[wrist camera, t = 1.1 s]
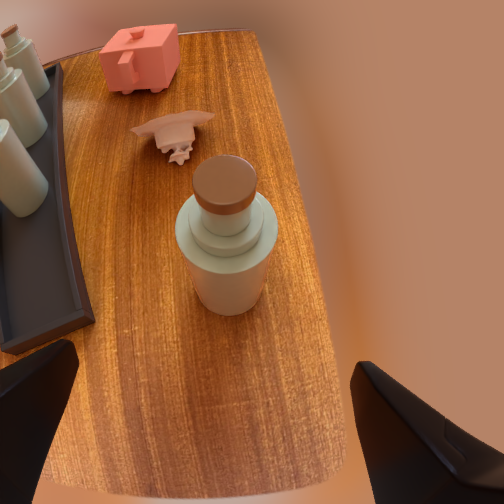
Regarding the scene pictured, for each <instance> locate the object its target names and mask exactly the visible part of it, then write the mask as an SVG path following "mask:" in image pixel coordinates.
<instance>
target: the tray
mask: <svg viewBox="0 0 504 504" xmlns="http://www.w3.org/2000/svg"><path fill="white" fill-rule="evenodd" d="M44 71H45V74H46V76H47V78H48V81H49V83H50V88H49V89H48V91H47V92H46V93H45V94H44V95H43V96H42V97H40V98H39V99H37V100H36V101H37V103H38V105H39V107H40V109H41V111H42V113H43V115H44V117H45V119H46V121H47V123H48V126H47V129H46V131H45V133H44V134H43V136H42V137H41V138H40V139H39V140H38V141H37V142H36V143H34V144H33V145H31V146H30V147H27V148H25V149H26V150H27V152H28V153H29V155H30V156H31V158H32V159H33V161H34V162H35V163H36V165H37V166H38V168H39V169H40V171H41V172H42V174H43V175H44V176H45V178H46V179H47V181H48V193H47V196H46V198H45V200H44V201H43V203H42V204H41V206H40V207H39V208H38V209H37V210H36V211H35V212H33V213H32V214H30V215H29V216H26V217H16V216H15V215H13V214H12V212H11V211H10V210H9V209H8V208H7V207H6V206H5V205H4V204H3V203H2V202H1V201H0V347H1V351H2V352H5V353H9V354H12V355H17V354H20V353H22V352H24V351H27V350H29V349H32V348H34V347H36V346H39V345H41V344H44V343H46V342H48V341H51V340H53V339H55V338H58V337H60V336H63V335H65V334H67V333H70V332H72V331H75V330H77V329H79V328H82V327H84V326H86V325H89V324H91V323H94V322H95V319H94V315H93V312H92V308H91V304H90V301H89V297H88V293H87V289H86V285H85V281H84V277H83V273H82V268H81V264H80V259H79V255H78V250H77V245H76V239H75V234H74V228H73V222H72V216H71V210H70V203H69V195H68V187H67V178H66V168H65V156H64V142H63V116H62V87H63V70H62V67H61V65H60V62H58V63H56V64H54V65H52V66H50V67H48V68H46V69H44Z"/></svg>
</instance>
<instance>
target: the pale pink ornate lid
mask: <svg viewBox="0 0 504 504" xmlns="http://www.w3.org/2000/svg"><path fill="white" fill-rule="evenodd" d="M214 116H215V115H214V113H208V112H202V111H198V110H196V111H192V110H191V111H186V112H180V113H178V114H169V115H166V116H164V117H160V118H155V119H151V120H150V121H148V122H147V123H145V124H143V125H141V126H138V127H133V129H132V128H131V129H130V130H129V131H132V132H135V133H136V134H137V135H138V136H140V137H143V136H144V137H148V136H153V135H155V140H156V146H157V148H158V149H161V150H162V153H167V152H168V151H169V150H170V149H173V151H174V153H173V154H172V155H171V156H170V161H168V162H173V161H176V162H177V163H178V164H179V165H183V163H184V161H185V160H187V159H189V151H192V150H193V148H192V147H191V144H192V142H193V141H194V140H195V134H194V128H193V126H196V125H200V124H203V123H205V122H206V121H208V120H210V119H211V118H212V117H214ZM185 149H186V150H185ZM183 150H185V151H183ZM181 151H182V152H181Z"/></svg>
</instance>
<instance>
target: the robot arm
mask: <svg viewBox="0 0 504 504" xmlns="http://www.w3.org/2000/svg"><path fill="white" fill-rule="evenodd" d="M78 368H79V359H78V356H77V353H76V349H75V346H74V343H73V342H72V341H70V340H66V339H60V340H58V341H56V342H54V343H52V344H50V345H48V346H46V347H44V348H42V349H40V350H38V351H36V352H35V353H33V354H31V355H29V356H27V357H25V358H23V359H21V360H19V361H17V362H15V363H13V364H11V365H9V366H7V367H5V368H3V369H1V370H0V504H32V502H31V501H32V500H33V497H34V494H35V490H36V487H37V484H38V481H39V478H40V475H41V472H42V469H43V466H44V463H45V460H46V457H47V454H48V452H49V449H50V446H51V443H52V441H53V438H54V435H55V433H56V430H57V428H58V425H59V423H60V420H61V418H62V415H63V413H64V410H65V408H66V405H67V403H68V400H69V396H70V393H71V390H72V386H73V383H74V380H75V377H76V374H77V371H78ZM350 390H351V396H352V402H353V408H354V416H355V423H356V428H357V431H358V436H359V440H360V443H361V447H362V451H363V454H364V458H365V462H366V466H367V470H368V474H369V478H370V482H371V486H372V490H373V495H374V499H375V503H376V504H504V454H503V453H501V452H499V451H498V450H496V449H494V448H492V447H491V446H489V445H487V444H485V443H484V442H482V441H480V440H478V439H477V438H475V437H473V436H472V435H470V434H469V433H467V432H465V431H464V430H463V429H461V428H460V427H458V426H457V425H455V424H454V423H453V422H451V421H450V420H448V419H447V418H446V419H445V417H444V416H443V415H441V414H440V413H439V412H438V411H436V410H435V409H433V408H432V407H431V406H429V405H428V404H427V403H425V402H424V401H423V400H421V399H420V398H418V397H417V396H416V395H415V394H413V393H412V392H410V391H409V390H408V389H407V388H405V387H404V386H403V385H401V384H400V383H399V382H397V381H396V380H395V379H393V378H392V377H390V376H389V375H388V374H387V373H385V372H384V371H383V370H381V369H380V368H379V367H377V366H376V365H375V364H373V363H372V362H370V361H359V362H358V363H357V364H356V366H355V369H354V372H353V375H352V378H351V381H350Z"/></svg>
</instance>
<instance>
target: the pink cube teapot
mask: <svg viewBox="0 0 504 504" xmlns="http://www.w3.org/2000/svg"><path fill="white" fill-rule="evenodd" d="M98 55H99V58H100V62H101V65H102V69H103V72H104V75H105V78H106V82H107V85H108V88H109V91H110V92H112V91H122V94H129V93H131V92H133V91H134V90H135V89H151V92H154V93H156V92H160V91H162V90H163V88H168V87H169V84H170V82H171V80H172V78H173V76H174V73H175V71H176V69H177V67H178V65H179V63H180V53H179V43H178V33H177V25H176V24H165V25H152V26H139V27H135V28H128V29H122V30H119V31H118V32H117V33H116V35H114V37H113V38H112V39H111V40H110V41H109V42H108V43H107V44H106V46H105V47H104V48H103V49H102V50H101V52H100V53H99V54H98Z"/></svg>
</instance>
